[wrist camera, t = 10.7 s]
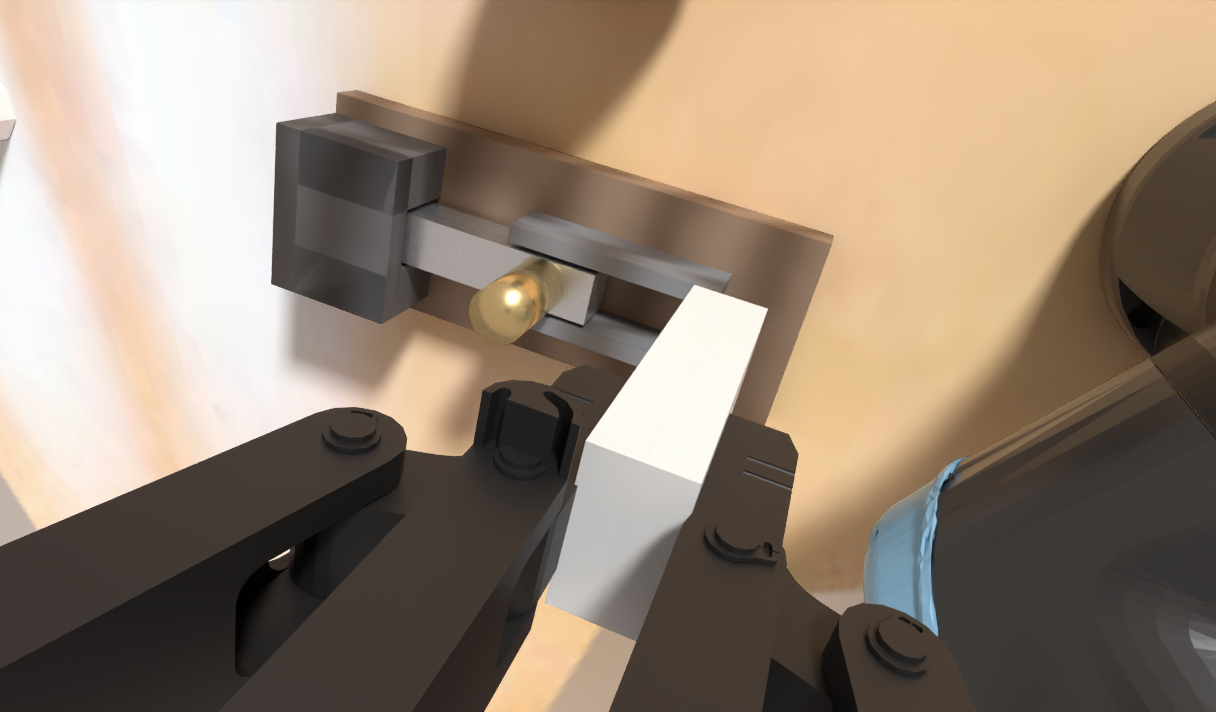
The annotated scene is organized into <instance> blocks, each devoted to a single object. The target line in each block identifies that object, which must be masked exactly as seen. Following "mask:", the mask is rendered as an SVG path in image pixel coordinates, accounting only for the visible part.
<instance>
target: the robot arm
mask: <svg viewBox="0 0 1216 712" xmlns="http://www.w3.org/2000/svg"><path fill="white" fill-rule="evenodd" d="M1101 274H1102V281H1103V286H1104V290H1105V294H1106V297H1107V300H1108V303H1109V305H1110V307H1111V310H1112V312H1113V314H1114V315H1115V317H1116V319H1117V321H1118V322H1119V324H1120V325H1121V327H1122V328H1123V330H1124V331H1125V332H1126V333H1127V334H1128V336H1129V337H1130V338H1131V339H1132V341H1133V342H1134V343H1135V344H1136V345H1137V347H1138V348H1139V349H1140V350H1141V351H1142V352H1143V353H1144V354H1145V355H1146V356H1147V357H1148V358H1146V359H1145V360H1143V361H1141V362H1139V363H1137V364H1136V365H1134V366H1132V367H1130V368H1129V369H1127V370H1125V371H1123V372H1122V373H1120V374H1118V375H1116V376H1115V377H1113V378H1111V379H1109V380H1107V381H1106V382H1104V383H1102V384H1100V385H1099V386H1097V387H1095V388H1093V389H1092V390H1090V391H1088V392H1086V393H1085V394H1083V395H1081V396H1079V397H1077V398H1076V399H1074V400H1072V401H1070V402H1069V403H1067V404H1065V405H1063V406H1062V407H1060V408H1058V409H1056V410H1055V411H1053V412H1051V413H1049V414H1047V415H1046V416H1044V417H1042V418H1040V419H1039V420H1037V421H1035V422H1033V423H1031V424H1029V425H1027V426H1026V427H1024V428H1022V429H1020V430H1018V431H1016V432H1015V433H1013V434H1011V435H1009V436H1007V437H1005V438H1003V439H1002V440H1000V441H998V442H996V443H994V444H992V445H991V446H989V447H987V448H985V449H983V450H981V451H980V452H978V453H976V454H974V455H972V456H970V457H969V456H967V457H964V458H961V459H958V460H955V461H953V462H951V463H949V464H948V465H947V466H946V467H944V468H943V469H942V471H941V472H940V473H939V474H938V475H937V477H936V478H935V479H933V480H932V481H930V482H929V483H927V484H926V485H924V486H923V487H921V488H919V489H918V490H916V491H914V492H913V493H911V494H910V495H908V496H906V497H905V498H903V499H902V500H900V501H898V502H897V503H895V504H894V505H893V506H891V507H890V508H889V509H888V510H887V511H886V512H885V513H883V515H882V516H881V517H880V518H879V520H878V521H877V523H876V524H875V526H874V528H873V530H872V533H871V536H870V540H869V543H868V551H867V553H866V555H865V558H864V566H863V590H864V600H865V603H862V604H859V605H855V606H853V607H849V608H847V610H846V611H845V612H844V613H843V615H842V616H841V615H839V614H838V613H836V612H835V611H833V610H832V609H830V608H829V607H827V606H825V605H824V604H822V603H821V602H819V601H818V600H817V599H815V598H814V597H813V596H812V595H810V594H809V593H808V592H806V591H805V590H804V589H803V588H802V587H801V586H800V585H799V584H798V583H797V582H796V581H795V580H794V578H793V577H792V575H791V574H790V572H789V571H788V569H787V568H786V567H787V562H786V555H785V550H784V548H783V547H782V543H783V538H784V532H785V527H786V521H787V516H788V510H789V505H790V499H791V493H792V491H791V490H792V488H793V482H794V477H795V476H794V475H795V471H796V466H797V460H798V452H797V450H796V448H795V446H794V444H793V442H792V440H791V438H790V436H789V434H786V433H783V432H781V431H778V430H775V429H772V428H769V427H767V426H764V425H761V424H758V423H755V422H752V421H750V420H747V419H744V418H741V417H738V416H736V415H733V414H732V411H733V408H734V405H735V403H736V400H737V397H738V394H739V391H740V388H741V385H742V382H743V380H744V377H745V374H746V371H747V368H748V365H749V362H750V359H751V356H752V354H753V351H754V348H755V345H756V342H757V339H758V336H759V333H760V330H761V328H762V325H763V322H764V319H765V316H766V313H767V310H768V309H767V308H764V307H761V306H758V305H755V304H752V303H749V302H746V301H743V300H739V299H736V298H733V297H730V296H727V295H724V294H721V293H718V292H715V291H712V290H709V289H706V288H703V287H700V286H697V285H694V286H693V288H692V289H691V291H690V292H689V293H688V295H687V296H686V298H685V299H684V301H683V302H682V303H681V305H680V306H679V308H678V309H677V311H676V312H675V313H674V315H673V316H672V318H671V319H670V321H669V322H668V323H667V325H666V326H665V328H664V329H663V331H662V332H661V334H660V335H659V336H658V338H657V339H656V341H655V342H654V344H653V345H652V346H651V348H650V349H649V351H648V352H647V354H646V355H645V356H644V358H643V359H642V361H641V362H640V364H639V365H638V366H637V368H636V369H635V371H634V372H633V374H632V375H631V377H630V378H629V379H625V378H622V377H619V376H616V375H614V374H611V373H608V372H605V371H602V370H600V369H597V368H594V367H591V366H588V365H583V366H580V367H577V368H574V369H572V370H569V371H566V372H563V373H562V375H561V376H560V377H559V378H558V379H557V380H556V381H555V382H554V383H553V385H552V386H548V385H544V384H540V383H536V382H532V381H517V380H511V381H505V382H499V383H495V384H493V385H491V386H489V387H487V388H486V389H484V390H483V392H482V398H481V403H480V409H479V415H478V420H477V426H476V432H475V437H474V443H473V445H472V446H471V447H470V448H469V449H468V450H467V451H466V453H465V454H464V455H463V456H444V455H435V454H429V453H423V452H417V451H411V450H406V444H407V437H406V434H405V432H404V429H403V427H402V426H401V425H400V424H399V423H397V422H396V421H395V420H394V419H393V418H392V417H389V416H387V415H384V414H382V413H380V412H377V411H375V410H369V409H364V408H357V407H348V408H333V409H329V410H325V411H322V412H318V413H315V414H313V415H310V416H308V417H305V418H303V419H301V420H298V421H296V422H294V423H291V424H289V425H287V426H284V427H282V428H279V429H277V430H275V431H272V432H270V433H268V434H265V435H263V436H260V437H258V438H256V439H253V440H251V441H249V442H246V443H244V444H242V445H239V446H237V447H234V448H232V449H230V450H227V451H225V452H223V453H220V454H218V455H215V456H213V457H211V458H208V459H206V460H204V461H201V462H199V463H197V464H194V465H192V466H189V467H187V468H185V469H182V470H180V471H178V472H175V473H173V474H171V475H168V476H166V477H163V478H161V479H159V480H156V481H154V482H152V483H149V484H147V485H144V486H142V487H140V488H137V489H135V490H133V491H130V492H128V493H126V494H123V495H121V496H118V497H116V498H114V499H111V500H109V501H107V502H104V503H102V504H100V505H97V506H95V507H92V508H90V509H88V510H85V511H83V512H81V513H78V514H76V515H73V516H71V517H69V518H66V519H64V520H62V521H59V522H57V523H55V524H52V525H50V526H47V527H45V528H43V529H40V530H38V531H36V532H33V533H31V534H29V535H26V536H24V537H21V538H19V539H17V540H14V541H12V542H10V543H7V544H5V545H3V546H0V712H484V711H485V709H486V707H487V706H488V704H489V702H490V700H491V699H492V697H493V695H494V693H495V692H496V690H497V688H498V686H499V684H500V683H501V681H502V679H503V677H504V676H505V674H506V672H507V670H508V669H509V667H510V665H511V663H512V662H513V660H514V658H515V656H516V654H517V653H518V651H519V649H520V647H521V646H522V644H523V642H524V640H525V639H526V637H527V635H528V633H529V631H530V630H531V626H532V622H533V618H534V615H535V611H536V606H537V602H538V600H539V598H540V597H541V595H542V593H543V592H544V590H545V588H546V586H547V585H548V583H549V581H550V584H549V588H548V592H547V596H546V600H545V603H546V604H549V605H551V606H554V607H556V608H558V609H561V610H563V611H566V612H568V613H570V614H573V615H575V616H577V617H580V618H582V619H585V620H587V621H589V622H592V623H594V624H597V625H599V626H601V627H604V628H606V629H609V630H611V631H613V632H616V633H618V634H620V635H623V636H625V637H628V638H630V639H632V640H635V641H636V644H635V647H634V649H633V652H632V654H631V657H630V659H629V662H628V664H627V667H626V670H625V672H624V675H623V677H622V680H621V682H620V685H619V688H618V690H617V692H616V695H615V698H614V700H613V703H612V705H611V708H610V710H609V712H1216V437H1215V436H1216V101H1215V102H1214V103H1212V104H1210V105H1208V106H1206V107H1205V108H1203V109H1201V110H1200V111H1198V112H1196V113H1195V114H1193V115H1192V116H1191V117H1189V118H1188V119H1186V120H1185V121H1183V122H1182V123H1181V124H1179V125H1178V126H1177V127H1175V128H1174V129H1173V130H1172V131H1170V132H1169V133H1168V134H1167V135H1166V136H1165V137H1164V138H1162V139H1161V140H1160V141H1159V142H1158V143H1157V144H1156V145H1155V146H1154V147H1153V148H1152V149H1151V150H1150V151H1149V152H1148V153H1147V155H1146V156H1145V157H1144V158H1143V159H1142V160H1141V161H1140V163H1139V164H1138V165H1137V166H1136V168H1135V169H1134V170H1133V172H1132V173H1131V174H1130V176H1129V177H1128V179H1127V180H1126V182H1125V183H1124V185H1123V187H1122V189H1121V190H1120V192H1119V194H1118V196H1117V198H1116V200H1115V202H1114V204H1113V206H1112V209H1111V211H1110V214H1109V217H1108V220H1107V223H1106V226H1105V230H1104V235H1103V240H1102V248H1101ZM1154 364H1155V365H1156V366H1155V365H1154ZM1160 371H1161V372H1162V373H1163V374H1164V375H1165V376H1166V377H1167V378H1168V380H1169V381H1170V382H1171V383H1172V384H1173V385H1174V386H1175V388H1176V389H1177V390H1178V391H1179V392H1180V394H1181V395H1182V396H1183V397H1184V398H1185V400H1186V401H1187V402H1188V403H1189V404H1190V406H1191V407H1192V408H1193V409H1194V411H1195V412H1196V413H1197V414H1198V415H1199V417H1200V418H1201V419H1202V420H1203V421H1204V423H1205V424H1206V425H1207V426H1208V427H1209V429H1210V430H1211V431H1212V432H1213V434H1214V435H1215V436H1214V435H1213V434H1212V432H1211V431H1210V430H1209V429H1208V428H1207V426H1206V425H1205V424H1204V423H1203V422H1202V421H1201V419H1200V418H1199V417H1198V416H1197V415H1196V413H1195V412H1194V411H1193V410H1192V409H1191V407H1190V406H1189V405H1188V404H1187V403H1186V401H1185V400H1184V399H1183V398H1182V397H1181V395H1180V394H1179V393H1178V392H1177V391H1176V389H1175V388H1174V387H1173V386H1172V385H1171V383H1170V382H1169V381H1168V380H1167V379H1166V378H1165V376H1164V375H1163V374H1162V373H1161V372H1160ZM288 549H290V552H289V553H287V554H285V555H284V556H282V557H280V558H278V559H275V560H273V561H270V562H268V561H269V560H271V559H273V558H275V557H276V556H278V555H280V554H282V553H283V552H285V551H287V550H288Z"/></svg>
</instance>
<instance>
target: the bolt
mask: <svg viewBox="0 0 1216 712" xmlns="http://www.w3.org/2000/svg"><path fill="white" fill-rule="evenodd" d="M508 232H509V227H506V226H503V225H500V224H497V223H494V222H491V221H488V220H485V219H482V218H479V217H475V216H472V215H469V214H466V213H463V212H460V211H457V210H454V209H451V208H448V207H445V206H442V205H439V204H436V203H433V202H430V201H429V202H427V203H424V204H422V205H419V206H417V207H414V208H412V209H409V210H407V218H406V227H405V236H404V245H403V254H402V263H405V264H408V265H410V266H413V267H416V268H419V269H422V270H425V271H428V272H431V273H434V274H436V275H439V276H442V277H445V278H448V279H451V280H454V281H457V282H460V283H462V284H465V285H468V286H471V287H474V288H477V289H480V291H479V292H477V293H476V294H475V295H474V296H473V298H472V300H471V302H470V306H469V317H470V321H471V324H472V326H473V328H474V329H475V331H476V332H477V333H478V334H479V335H480V336H481V337H482V338H483V339H484V340H486V341H488V342H490V343H492V344H496V345H507V344H510V343H513V342H514V341H516V340H517V339H518V338H519V337H520V336H521V335H523V334H524V333H525V332H526V331H527V330H528V329H529V328H531V327H532V326H533V325H534V324H535V323H536V322H537V321H539V320H540V319H541V318H542V317H543V316H544V315H545V314H547V313H549V314H552V315H555V316H558V317H561V318H564V319H566V320H569V321H572V322H575V323H578V324H581V325H584V324H585V323H586V322H587V321H588V320H589V319H590V318H591V317H592V316H593V315H594V314H595V313H596V312H597V311H598V310H599V309H600V307H601V303H602V299H603V295H604V290H605V286H606V282H607V278H608V275H607V274H604V273H601V272H598V271H595V270H592V269H589V268H586V267H583V266H580V265H577V264H574V263H571V262H568V261H565V260H562V259H559V258H556V257H553V256H550V255H547V254H544V253H541V252H538V251H535V250H532V249H529V248H526V247H523V246H520V245H517V244H514V243H511V242H508V241H507V238H508Z"/></svg>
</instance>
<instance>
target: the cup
mask: <svg viewBox="0 0 1216 712" xmlns="http://www.w3.org/2000/svg"><path fill="white" fill-rule="evenodd" d="M15 121H16V116H15V113H14V109H13V106H12V103H11V100H10V97H9V93H8V90H7V89H6V88H5V87H4V86H3V85H2V84H1V83H0V140H5V139H9V137H10V134H11V132H12V129H13V127H14V124H15Z"/></svg>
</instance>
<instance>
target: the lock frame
mask: <svg viewBox="0 0 1216 712" xmlns="http://www.w3.org/2000/svg"><path fill="white" fill-rule="evenodd" d="M429 201H430V202H433V203H436V204H439V205H442V206H445V207H448V208H451V209H454V210H457V211H460V212H463V213H466V214H469V215H472V216H475V217H479V218H482V219H485V220H488V221H491V222H494V223H497V224H500V225H503V226H506V227H509V232H508V238H507V241H508V242H511V243H514V244H517V245H520V246H523V247H526V248H529V249H532V250H535V251H538V252H541V253H544V254H547V255H550V256H553V257H556V258H559V259H562V260H565V261H568V262H571V263H574V264H577V265H580V266H583V267H586V268H589V269H592V270H595V271H598V272H601V273H604V274H607V275H608V278H607V282H606V286H605V290H604V295H603V299H602V303H601V307H600V309H599V310H598V311H597V312H596V313H595V314H594V315H593V316H592V317H591V318H590V319H589V320H588V321H587V322H586V323H585V324H584V325H581V324H578V323H575V322H572V321H569V320H566V319H564V318H561V317H558V316H555V315H552V314H549V313H547V314H545V315H544V316H543V317H542V318H541V319H540V320H539V321H537V322H536V323H535V324H534V325H533V326H532V327H531V328H529V329H528V330H527V331H526V332H525V333H524V334H523V335H521V336H520V337H519V338H518V339H517V340H516V341H514V342H513V343H511V344H513V345H516V346H519V347H522V348H525V349H527V350H530V351H533V352H536V353H539V354H541V355H544V356H547V357H550V358H553V359H555V360H558V361H561V362H564V363H567V364H569V365H572V366H575V367H580V366H583V365H588V366H591V367H594V368H597V369H600V370H602V371H605V372H608V373H611V374H614V375H616V376H619V377H622V378H625V379H629V378H630V377H631V375H632V374H633V372H634V371H635V369H636V368H637V366H638V365H639V364H640V362H641V361H642V359H643V358H644V356H645V355H646V354H647V352H648V351H649V349H650V348H651V346H652V345H653V344H654V342H655V341H656V339H657V338H658V336H659V335H660V334H661V332H662V331H663V329H664V328H665V326H666V325H667V323H668V322H669V321H670V319H671V318H672V316H673V315H674V313H675V312H676V311H677V309H678V308H679V306H680V305H681V303H682V302H683V301H684V299H685V298H686V296H687V295H688V293H689V292H690V291H691V289H692V288H693V286H694V285H697V286H700V287H703V288H706V289H709V290H712V291H715V292H718V293H721V294H724V295H727V296H730V297H733V298H736V299H739V300H743V301H746V302H749V303H752V304H755V305H758V306H761V307H764V308H767V309H768V310H767V313H766V316H765V319H764V322H763V325H762V328H761V330H760V333H759V336H758V339H757V342H756V345H755V348H754V351H753V354H752V356H751V359H750V362H749V365H748V368H747V371H746V374H745V377H744V380H743V382H742V385H741V388H740V391H739V394H738V397H737V400H736V403H735V405H734V408H733V411H732V414H733V415H736V416H738V417H741V418H744V419H747V420H750V421H752V422H755V423H758V424H761V425H765V423H766V420H767V417H768V415H769V412H770V409H771V406H772V404H773V401H774V398H775V396H776V393H777V390H778V388H779V385H780V382H781V380H782V377H783V374H784V372H785V369H786V366H787V363H788V361H789V358H790V355H791V353H792V350H793V347H794V345H795V342H796V339H797V337H798V334H799V331H800V329H801V326H802V323H803V320H804V318H805V315H806V312H807V310H808V307H809V304H810V302H811V299H812V296H813V294H814V291H815V288H816V285H817V283H818V280H819V277H820V275H821V272H822V269H823V267H824V264H825V261H826V259H827V256H828V253H829V251H830V248H831V245H832V241H833V235H830V234H827V233H824V232H820V231H817V230H814V229H810V228H807V227H804V226H801V225H797V224H794V223H791V222H787V221H784V220H781V219H778V218H774V217H771V216H768V215H764V214H761V213H758V212H755V211H751V210H748V209H745V208H742V207H738V206H735V205H732V204H728V203H725V202H722V201H719V200H715V199H712V198H709V197H705V196H702V195H699V194H696V193H692V192H689V191H686V190H682V189H679V188H676V187H673V186H669V185H666V184H663V183H659V182H656V181H653V180H650V179H646V178H643V177H640V176H637V175H633V174H630V173H627V172H623V171H620V170H617V169H614V168H610V167H607V166H604V165H600V164H597V163H594V162H591V161H587V160H584V159H581V158H577V157H574V156H571V155H568V154H564V153H561V152H558V151H554V150H551V149H548V148H545V147H541V146H538V145H535V144H532V143H528V142H525V141H522V140H518V139H515V138H512V137H509V136H505V135H502V134H499V133H495V132H492V131H489V130H486V129H482V128H479V127H476V126H472V125H469V124H466V123H463V122H459V121H456V120H453V119H449V118H446V117H443V116H440V115H436V114H433V113H430V112H427V111H423V110H420V109H417V108H413V107H410V106H407V105H404V104H400V103H397V102H394V101H390V100H387V99H384V98H381V97H377V96H374V95H371V94H367V93H364V92H361V91H358V90H355V91H347V92H339V93H337V103H336V113H333V114H327V115H321V116H315V117H308V118H302V119H296V120H290V121H284V122H278V123H276V154H275V185H274V216H273V248H272V279H271V284H273V285H275V286H278V287H281V288H284V289H286V290H289V291H292V292H295V293H297V294H300V295H303V296H306V297H308V298H311V299H314V300H317V301H319V302H322V303H325V304H328V305H330V306H333V307H336V308H339V309H341V310H344V311H347V312H350V313H352V314H355V315H358V316H360V317H363V318H366V319H369V320H371V321H374V322H377V323H380V324H383V323H384V322H386V321H388V320H389V319H391V318H393V317H394V316H396V315H398V314H399V313H401V312H403V311H404V310H406V309H408V308H409V307H410V308H413V309H415V310H418V311H421V312H424V313H427V314H429V315H432V316H435V317H438V318H441V319H443V320H446V321H449V322H452V323H455V324H457V325H460V326H463V327H466V328H469V329H471V330H474V331H475V329H474V328H473V326H472V324H471V321H470V317H469V306H470V302H471V300H472V298H473V296H474V295H475V294H476V293H477V292H479V291H480V289H477V288H474V287H471V286H468V285H465V284H462V283H460V282H457V281H454V280H451V279H448V278H445V277H442V276H439V275H436V274H434V273H431V272H428V271H425V270H422V269H419V268H416V267H413V266H410V265H408V264H405V263H402V254H403V245H404V236H405V227H406V218H407V210H409V209H412V208H414V207H417V206H419V205H422V204H424V203H427V202H429Z"/></svg>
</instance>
